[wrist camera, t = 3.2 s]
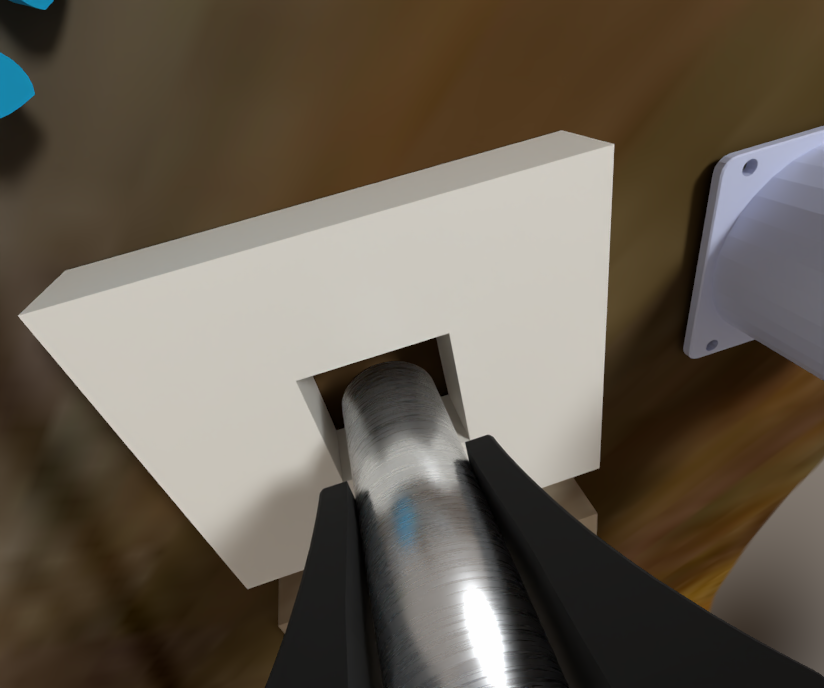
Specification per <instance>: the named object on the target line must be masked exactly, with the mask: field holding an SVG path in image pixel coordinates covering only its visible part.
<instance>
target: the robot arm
mask: <svg viewBox="0 0 824 688" xmlns="http://www.w3.org/2000/svg"><path fill="white" fill-rule="evenodd" d="M746 163H747V164H746ZM745 164H746V167H745V168H744V170H743V167H744V165H745ZM742 170H743V171H742ZM752 340H757V341H758V342H760V343H762V344H763V345H765V346H767V347H768V348H770V349H772V350H773V351H775V352H777V353H778V354H780V355H782V356H783V357H785V358H787V359H788V360H790V361H792V362H793V363H795V364H797V365H798V366H800V367H802V368H803V369H805V370H807V371H808V372H810V373H812V374H813V375H815V376H817V377H818V378H820V379H822V380H823V381H824V126H821V127H818V128H814V129H811V130H808V131H804V132H801V133H797V134H794V135H791V136H787V137H784V138H781V139H777V140H774V141H770V142H767V143H764V144H760V145H757V146H753V147H750V148H747V149H743V150H740V151H737V152H733V153H730V154H728V155H726V156H724V157H723V158H722V159H721V160H720V161H719V162H718V163H717V165H716V166H715V168H714V171H713V175H712V181H711V187H710V193H709V199H708V204H707V210H706V216H705V222H704V228H703V234H702V240H701V246H700V252H699V258H698V264H697V270H696V276H695V282H694V287H693V293H692V299H691V305H690V311H689V317H688V323H687V329H686V335H685V341H684V347H683V352H684V353H685V354H686V355H687V356H689V357H690V358H693V359H696V358H700V357H703V356H706V355H709V354H712V353H715V352H718V351H721V350H725V349H728V348H731V347H734V346H737V345H740V344H743V343H746V342H749V341H752ZM465 445H466V449H467V454H468V459H469V463H470V465H471V467H472V469H473V472H474V474H475V476H476V479H477V481H478V483H479V485H480V488H481V490H482V492H483V494H484V496H485V499H486V501H487V503H488V505H489V507H490V510H491V512H492V514H493V516H494V519H495V521H496V523H497V525H498V528H499V530H500V532H501V534H502V537H503V539H504V541H505V543H506V546H507V548H508V550H509V552H510V555H511V557H512V559H513V561H514V564H515V566H516V568H517V570H518V573H519V575H520V577H521V579H522V582H523V584H524V586H525V589H526V591H527V593H528V595H529V598H530V600H531V602H532V604H533V607H534V609H535V611H536V613H537V616H538V618H539V620H540V622H541V625H542V627H543V629H544V631H545V634H546V636H547V638H548V640H549V643H550V645H551V647H552V649H553V652H554V654H555V656H556V658H557V661H558V663H559V665H560V667H561V670H562V672H563V674H564V676H565V679H566V681H567V683H568V685H569V688H824V677H823V676H822V675H821V674H819V673H817V672H816V671H814V670H812V669H810V668H808V667H807V666H805V665H803V664H801V663H799V662H797V661H795V660H793V659H791V658H790V657H788V656H786V655H784V654H782V653H780V652H778V651H776V650H775V649H773V648H771V647H769V646H767V645H766V644H764V643H762V642H760V641H758V640H756V639H755V638H753V637H751V636H749V635H748V634H746V633H744V632H742V631H741V630H739V629H737V628H736V627H734V626H732V625H730V624H729V623H727V622H725V621H724V620H722V619H720V618H718V617H717V616H715V615H713V614H712V613H710V612H708V611H707V610H705V609H703V608H702V607H700V606H699V605H697V604H696V603H694V602H692V601H691V600H689V599H688V598H686V597H685V596H683V595H681V594H680V593H678V592H677V591H675V590H674V589H672V588H670V587H669V586H667V585H666V584H664V583H662V582H661V581H659V580H658V579H656V578H655V577H653V576H652V575H650V574H649V573H648V572H646V571H645V570H643V569H642V568H640V567H639V566H637V565H636V564H635V563H633V562H632V561H630V560H629V559H627V558H626V557H625V556H623V555H622V554H621V553H619V552H618V551H617V550H615V549H614V548H613V547H611V546H610V545H608V544H607V543H606V542H605V541H603V540H602V539H601V538H599V537H598V536H597V535H596V534H594V533H593V532H592V531H591V530H589V529H588V528H587V527H586V526H584V525H583V524H582V523H581V522H580V521H578V520H577V519H576V518H575V517H574V516H572V515H571V514H570V513H569V512H568V511H566V510H565V509H564V508H563V507H562V506H561V505H560V504H558V503H557V502H556V501H555V500H554V499H553V498H552V497H551V496H550V495H549V494H547V493H546V492H545V491H544V490H543V489H542V488H541V487H540V486H539V485H538V484H537V483H536V482H535V481H534V480H533V479H531V478H530V477H529V476H528V475H527V474H526V473H525V472H524V471H523V470H522V469H521V467H520V466H519V465H518V464H517V463H516V462H515V461H514V460H513V459H512V458H511V457H510V456H509V455H508V454H507V453H506V451H505V450H504V449H503V448H502V447H501V446H500V445H499V443H498V442H497V441H496V440H495V438H494V437H493V436H491V435H485V436H482V437H479V438H476V439H473V440H470V441H467V442H465ZM265 688H383V683H382V676H381V669H380V663H379V656H378V649H377V642H376V636H375V629H374V622H373V615H372V608H371V602H370V595H369V588H368V581H367V575H366V568H365V561H364V554H363V547H362V541H361V534H360V527H359V520H358V513H357V507H356V500H355V498H354V495H353V493H352V491H351V489H350V487H349V484H348V482H347V481H345V482H342V483H339V484H336V485H333V486H330V487H327V488H324V489H322V491H321V492H320V495H319V502H318V508H317V514H316V519H315V524H314V529H313V534H312V539H311V543H310V548H309V552H308V556H307V559H306V563H305V567H304V571H303V575H302V579H301V583H300V586H299V590H298V593H297V596H296V600H295V603H294V606H293V609H292V612H291V616H290V619H289V622H288V625H287V629H286V632H285V635H284V637H283V640H282V643H281V646H280V649H279V652H278V654H277V657H276V660H275V663H274V665H273V668H272V671H271V673H270V676H269V678H268V681H267V684H266V686H265Z"/></svg>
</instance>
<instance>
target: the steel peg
mask: <svg viewBox="0 0 824 688" xmlns="http://www.w3.org/2000/svg"><path fill="white" fill-rule="evenodd" d="M342 412H343V419H344V425H345V432H346V439H347V446H348V453H349V459H350V466H351V473H352V480H353V486H354V493H355V500H356V507H357V513H358V520H359V527H360V534H361V541H362V547H363V554H364V561H365V568H366V575H367V581H368V588H369V595H370V602H371V608H372V615H373V622H374V629H375V636H376V642H377V649H378V656H379V663H380V669H381V676H382V683H383V688H569V685H568V683H567V681H566V679H565V676H564V674H563V672H562V670H561V667H560V665H559V663H558V661H557V658H556V656H555V654H554V652H553V649H552V647H551V645H550V643H549V640H548V638H547V636H546V634H545V631H544V629H543V627H542V625H541V622H540V620H539V618H538V616H537V613H536V611H535V609H534V607H533V604H532V602H531V600H530V598H529V595H528V593H527V591H526V589H525V586H524V584H523V582H522V579H521V577H520V575H519V573H518V570H517V568H516V566H515V564H514V561H513V559H512V557H511V555H510V552H509V550H508V548H507V546H506V543H505V541H504V539H503V537H502V534H501V532H500V530H499V528H498V525H497V523H496V521H495V519H494V516H493V514H492V512H491V510H490V507H489V505H488V503H487V501H486V499H485V496H484V494H483V492H482V490H481V488H480V485H479V483H478V481H477V479H476V476H475V474H474V472H473V469H472V467H471V465H470V463H469V460H468V458H467V456H466V453H465V451H464V449H463V446H462V444H461V442H460V440H459V437H458V435H457V433H456V431H455V428H454V426H453V424H452V422H451V419H450V417H449V415H448V413H447V410H446V408H445V406H444V404H443V401H442V399H441V397H440V395H439V392H438V390H437V388H436V386H435V383H434V381H433V379H432V378H431V376H430V375H429V374H428V373H427V372H426V371H425V370H424V369H422V368H421V367H419V366H417V365H415V364H412V363H409V362H404V361H389V362H383V363H379V364H376V365H373V366H371V367H369V368H367V369H365V370H364V371H362V372H360V373H359V374H358V375H357V376H356V377H355V378H354V379H353V380H352V381H351V382H350V383H349V385H348V386H347V388H346V390H345V392H344V394H343V398H342Z"/></svg>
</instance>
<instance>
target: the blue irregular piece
mask: <svg viewBox="0 0 824 688" xmlns="http://www.w3.org/2000/svg"><path fill="white" fill-rule="evenodd" d="M9 1H12V2H14V3H18V4H22V5H26V6H30V7H34V8H39V9H43V10H46V8H47V7H48V6H49V5H50V4H51V3H52V2H53V1H54V0H9ZM34 95H35V92H34V89H33V85H32V83H31V81H30V79H29V77H28V76H27V74H26V73H25V72H24V71H23V69H22V68H21V67H20V66H19V65H18V64H16V63H15V62H14V61H13V60H12V59H10V58H9V57H7V56H5V55H4V54H2V53H0V118H2V117H5V116H7V115H9V114H11V113H12V112H14V111H15V110H17V109H18V108H20V107H21V106H22V105H23V104H25V103H26V102H27V101H28V100H29V99H30V98H31V97H33V96H34Z"/></svg>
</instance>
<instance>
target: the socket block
mask: <svg viewBox="0 0 824 688" xmlns="http://www.w3.org/2000/svg"><path fill="white" fill-rule="evenodd" d="M613 161H614V144H612V143H608V142H604V141H600V140H596V139H593V138H589V137H585V136H581V135H577V134H574V133H570V132H566V131H562V130H561V131H558V132H554V133H551V134H547V135H544V136H540V137H537V138H533V139H530V140H526V141H523V142H519V143H516V144H512V145H508V146H505V147H501V148H498V149H494V150H491V151H487V152H484V153H480V154H477V155H473V156H470V157H466V158H462V159H459V160H455V161H452V162H448V163H445V164H441V165H438V166H434V167H431V168H427V169H424V170H420V171H416V172H413V173H409V174H406V175H402V176H399V177H395V178H392V179H388V180H385V181H381V182H378V183H374V184H370V185H367V186H363V187H360V188H356V189H353V190H349V191H346V192H342V193H339V194H335V195H332V196H328V197H324V198H321V199H317V200H314V201H310V202H307V203H303V204H300V205H296V206H293V207H289V208H286V209H282V210H279V211H275V212H271V213H268V214H264V215H261V216H257V217H254V218H250V219H247V220H243V221H240V222H236V223H233V224H229V225H225V226H222V227H218V228H215V229H211V230H208V231H204V232H201V233H197V234H194V235H190V236H187V237H183V238H179V239H176V240H172V241H169V242H165V243H162V244H158V245H155V246H151V247H148V248H144V249H141V250H137V251H133V252H130V253H126V254H123V255H119V256H116V257H112V258H109V259H105V260H102V261H98V262H95V263H91V264H88V265H84V266H80V267H77V268H73V269H70V270H66V271H64V272H63V273H62V274H61V275H60V276H59V277H58V278H57V279H56V280H55V281H54V282H53V283H52V284H51V285H50V286H49V287H48V288H47V289H46V290H44V291H43V292H42V293H41V294H40V295H39V296H38V297H37V298H36V299H35V300H34V301H33V302H32V303H31V304H30V305H29V306H28V307H27V308H26V309H25V310H23V311H22V312H21V313H20V314H19V315H18V317H19V318H20V319H21V320H22V321H23V322H24V324H25V325H26V326H27V327H28V328H29V330H30V331H31V332H32V333H33V334H34V336H35V337H36V338H37V339H38V340H39V342H40V343H41V344H42V345H43V346H44V348H45V349H46V350H47V351H48V352H49V353H50V355H51V356H52V357H53V358H54V359H55V361H56V362H57V363H58V364H59V365H60V367H61V368H62V369H63V370H64V371H65V373H66V374H67V375H68V376H69V377H70V379H71V380H72V381H73V382H74V383H75V384H76V386H77V387H78V388H79V389H80V390H81V392H82V393H83V394H84V395H85V396H86V398H87V399H88V400H89V401H90V402H91V404H92V405H93V406H94V407H95V408H96V409H97V411H98V412H99V413H100V414H101V415H102V417H103V418H104V419H105V420H106V421H107V423H108V424H109V425H110V426H111V427H112V429H113V430H114V431H115V432H116V433H117V435H118V436H119V437H120V438H121V439H122V440H123V442H124V443H125V444H126V445H127V446H128V448H129V449H130V450H131V451H132V452H133V454H134V455H135V456H136V457H137V458H138V460H139V461H140V462H141V463H142V464H143V466H144V467H145V468H146V469H147V470H148V471H149V473H150V474H151V475H152V476H153V477H154V479H155V480H156V481H157V482H158V483H159V485H160V486H161V487H162V488H163V489H164V491H165V492H166V493H167V494H168V495H169V497H170V498H171V499H172V500H173V501H174V502H175V504H176V505H177V506H178V507H179V508H180V510H181V511H182V512H183V513H184V514H185V516H186V517H187V518H188V519H189V520H190V522H191V523H192V524H193V525H194V526H195V527H196V529H197V530H198V531H199V532H200V533H201V535H202V536H203V537H204V538H205V539H206V541H207V542H208V543H209V544H210V545H211V547H212V548H213V549H214V550H215V551H216V553H217V554H218V555H219V556H220V557H221V558H222V560H223V561H224V562H225V563H226V564H227V566H228V567H229V568H230V569H231V570H232V572H233V573H234V574H235V575H236V576H237V578H238V579H239V580H240V581H241V582H242V584H243V585H244V586H245V587H246V588H247V589H250V588H252V587H255V586H258V585H261V584H264V583H267V582H270V581H273V580H276V579H279V578H282V577H284V576H287V575H290V574H293V573H296V572H299V571H302V570H304V567H305V563H306V559H307V556H308V552H309V548H310V543H311V539H312V534H313V529H314V524H315V519H316V514H317V508H318V502H319V495H320V492H321V491H322V489H324V488H327V487H330V486H333V485H336V484H339V483H342V482H345V481H347V482H348V484H349V487H350V489H351V491H352V493H353V495H354V498H355V493H354V486H353V480H352V473H351V466H350V459H349V453H348V446H347V439H346V432H345V428H342V429H339V430H336V428H335V426H334V424H333V421H332V419H331V417H330V414H329V412H328V410H327V407H326V405H325V403H324V401H323V398H322V396H321V394H320V391H319V389H318V387H317V385H316V382H315V380H314V378H313V375H317V374H320V373H323V372H326V371H330V370H333V369H336V368H339V367H342V366H346V365H349V364H352V363H355V362H358V361H362V360H365V359H368V358H371V357H374V356H378V355H381V354H384V353H387V352H390V351H394V350H397V349H400V348H403V347H406V346H410V345H413V344H416V343H419V342H422V341H426V340H429V339H432V338H435V337H436V340H437V344H438V349H439V354H440V358H441V363H442V367H443V372H444V377H445V381H446V386H447V390H448V395H445V396H442V397H441V399H442V401H443V404H444V406H445V408H446V410H447V413H448V415H449V417H450V419H451V422H452V424H453V426H454V428H455V431H456V433H457V435H458V437H459V440H460V442H461V444H462V446H463V449H464V451H465V453H466V456H467V458H468V454H467V449H466V445H465V442H467V441H470V440H473V439H476V438H479V437H482V436H485V435H491V436H493V437H494V438H495V440H496V441H497V442H498V443H499V445H500V446H501V447H502V448H503V449H504V450H505V451H506V453H507V454H508V455H509V456H510V457H511V458H512V459H513V460H514V461H515V462H516V463H517V464H518V465H519V466H520V467H521V469H522V470H523V471H524V472H525V473H526V474H527V475H528V476H529V477H530V478H531V479H533V480H534V481H535V482H536V483H537V484H538V485H539V486H540V487H541V488H543V487H546V486H549V485H552V484H555V483H558V482H561V481H564V480H567V479H569V478H572V477H575V476H578V475H581V474H584V473H587V472H590V471H593V470H596V469H599V468H600V448H601V426H602V404H603V382H604V360H605V338H606V316H607V294H608V272H609V249H610V227H611V205H612V183H613ZM468 460H469V459H468Z"/></svg>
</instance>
